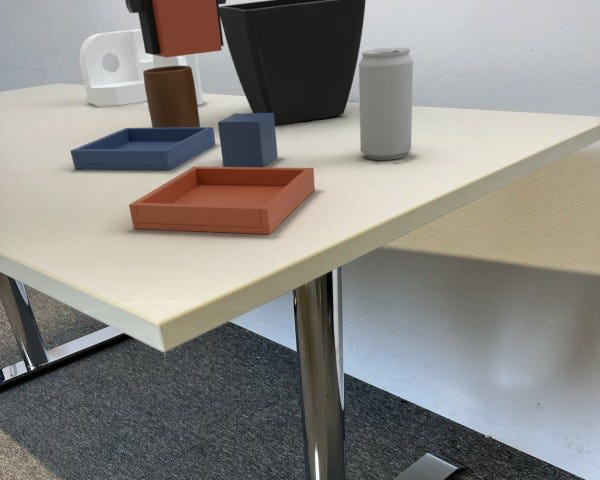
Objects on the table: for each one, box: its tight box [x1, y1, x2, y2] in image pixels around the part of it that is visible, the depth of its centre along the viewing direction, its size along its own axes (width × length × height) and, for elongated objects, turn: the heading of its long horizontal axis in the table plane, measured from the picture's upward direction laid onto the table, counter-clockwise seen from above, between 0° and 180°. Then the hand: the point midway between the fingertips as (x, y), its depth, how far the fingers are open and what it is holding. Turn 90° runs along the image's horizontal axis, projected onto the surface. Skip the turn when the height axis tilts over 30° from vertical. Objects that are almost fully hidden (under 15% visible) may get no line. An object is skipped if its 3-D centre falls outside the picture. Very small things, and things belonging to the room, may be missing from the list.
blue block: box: [217, 112, 279, 167], centre depth 84 cm, size 6×6×6 cm
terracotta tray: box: [128, 166, 316, 235], centre depth 68 cm, size 15×15×2 cm
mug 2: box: [153, 54, 204, 106], centre depth 125 cm, size 12×9×10 cm
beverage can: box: [358, 47, 414, 161], centre depth 80 cm, size 6×6×12 cm
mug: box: [143, 66, 201, 128], centre depth 104 cm, size 12×8×9 cm, turn 23°
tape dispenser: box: [78, 28, 155, 107], centre depth 136 cm, size 16×10×13 cm, turn 120°
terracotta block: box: [151, 0, 222, 57], centre depth 61 cm, size 6×6×6 cm
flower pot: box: [219, 0, 367, 126], centre depth 106 cm, size 19×19×17 cm
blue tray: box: [70, 126, 216, 171], centre depth 92 cm, size 15×15×2 cm
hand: (184, 48), depth 62 cm, fingers closed on terracotta block, 5 cm apart
